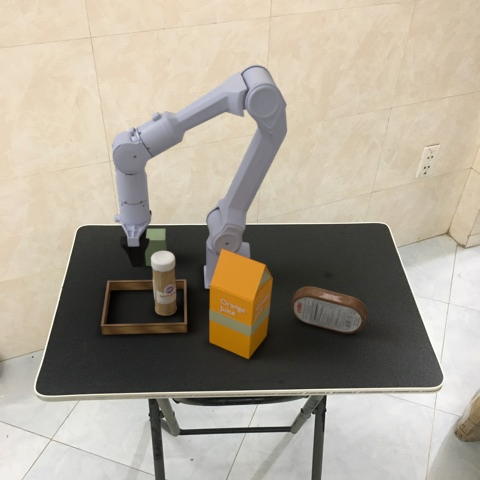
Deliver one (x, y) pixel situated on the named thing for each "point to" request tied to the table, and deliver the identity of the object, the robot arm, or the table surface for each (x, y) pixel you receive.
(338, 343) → the table surface
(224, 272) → the orange juice
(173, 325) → the wooden frame
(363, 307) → the tin
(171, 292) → the sprinkles bottle
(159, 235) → the block
